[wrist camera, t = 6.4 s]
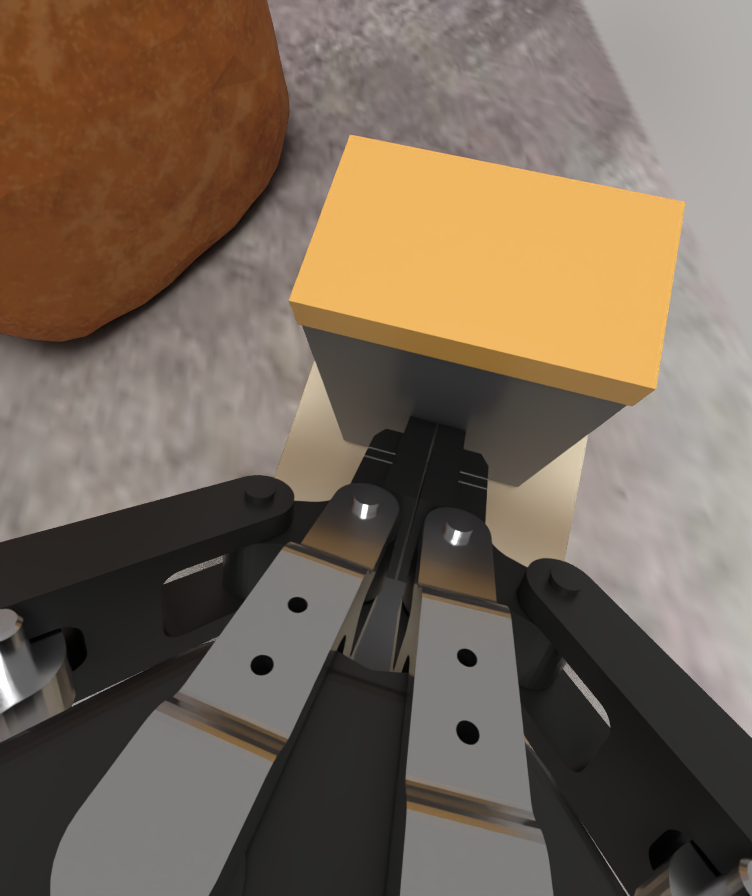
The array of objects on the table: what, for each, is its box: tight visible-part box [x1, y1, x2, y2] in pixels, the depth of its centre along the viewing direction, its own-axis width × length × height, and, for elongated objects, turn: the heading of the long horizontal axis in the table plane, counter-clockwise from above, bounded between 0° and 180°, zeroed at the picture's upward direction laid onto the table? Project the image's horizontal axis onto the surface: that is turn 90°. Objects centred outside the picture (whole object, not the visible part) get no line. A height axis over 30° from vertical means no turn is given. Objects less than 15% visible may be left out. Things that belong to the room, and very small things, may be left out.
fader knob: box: [289, 135, 685, 487], centre depth 13 cm, size 4×6×9 cm, turn 74°
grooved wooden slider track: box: [274, 361, 588, 746], centre depth 18 cm, size 24×10×3 cm, turn 164°
